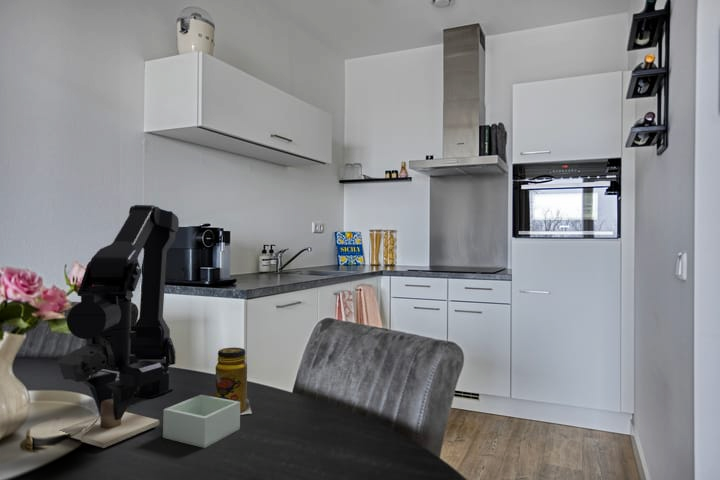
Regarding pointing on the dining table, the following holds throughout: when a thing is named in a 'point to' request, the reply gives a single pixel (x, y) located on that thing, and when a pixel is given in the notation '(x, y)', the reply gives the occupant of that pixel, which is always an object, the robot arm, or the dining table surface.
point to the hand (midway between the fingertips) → (110, 417)
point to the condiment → (232, 377)
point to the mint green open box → (201, 420)
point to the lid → (111, 426)
